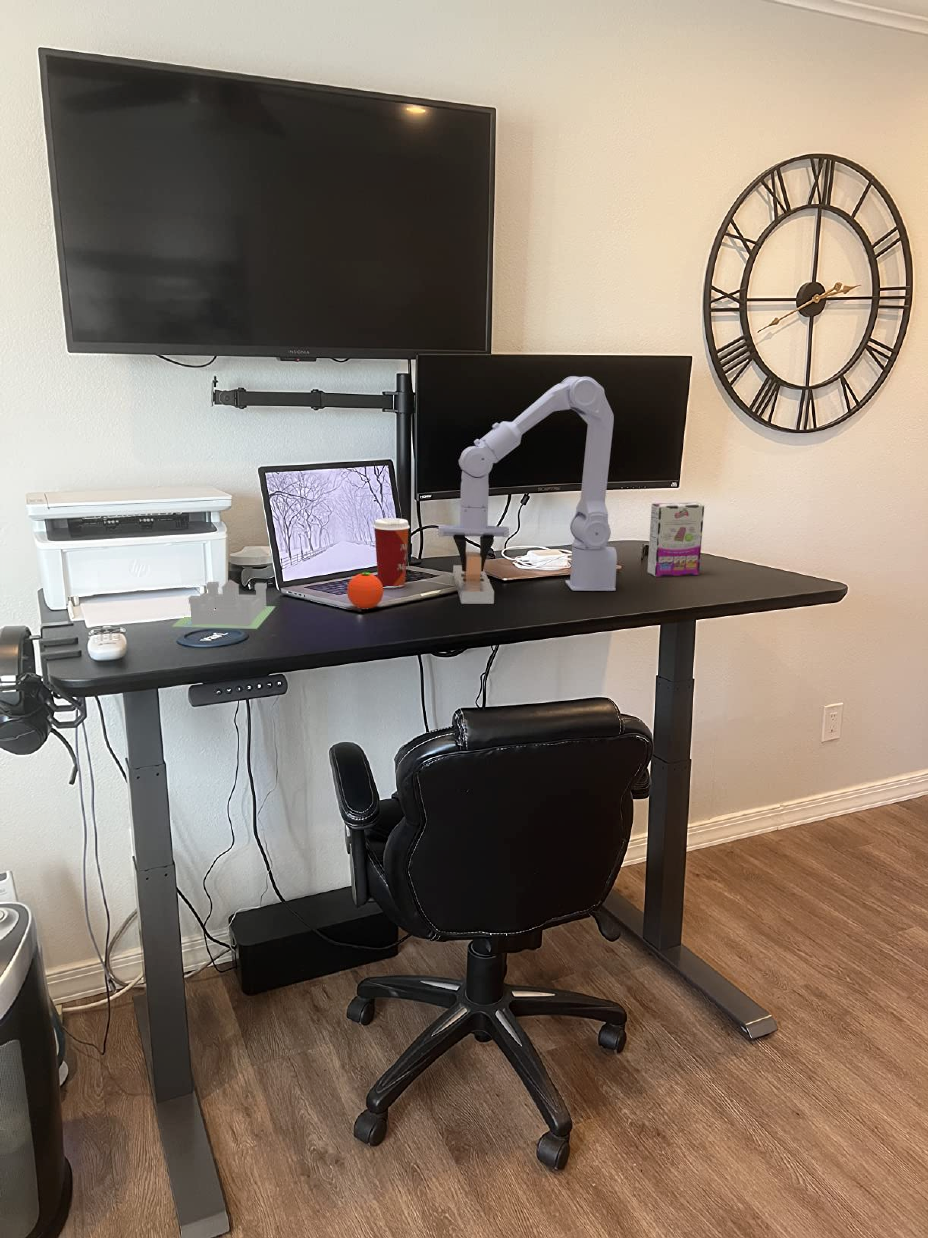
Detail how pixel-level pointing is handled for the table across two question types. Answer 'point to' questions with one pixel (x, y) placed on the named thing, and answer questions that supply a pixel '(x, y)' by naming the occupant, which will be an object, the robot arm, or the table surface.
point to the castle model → (227, 608)
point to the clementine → (365, 590)
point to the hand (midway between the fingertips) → (472, 570)
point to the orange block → (473, 566)
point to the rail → (473, 588)
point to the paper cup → (391, 550)
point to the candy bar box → (675, 539)
